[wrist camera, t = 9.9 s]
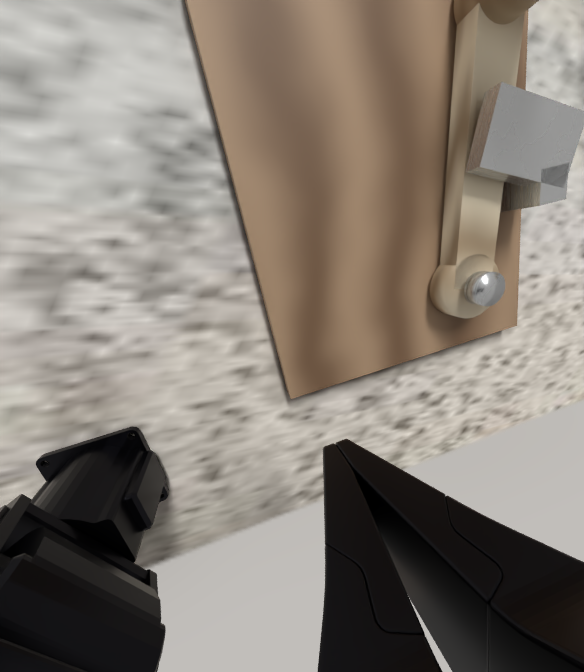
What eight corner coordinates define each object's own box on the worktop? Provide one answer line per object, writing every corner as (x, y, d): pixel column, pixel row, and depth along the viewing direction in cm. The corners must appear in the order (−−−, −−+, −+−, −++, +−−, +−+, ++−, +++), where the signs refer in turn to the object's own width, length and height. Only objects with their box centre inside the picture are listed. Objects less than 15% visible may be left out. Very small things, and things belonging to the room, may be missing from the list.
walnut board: (287, 391, 21) (290, 399, 20) (179, -18, 14) (175, -43, 13) (503, 322, 24) (516, 325, 23) (510, -48, 17) (531, -70, 16)
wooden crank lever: (477, 310, 22) (783, 374, 10) (428, 317, 21) (696, 397, 9) (516, -33, 16) (1393, -913, 4) (450, -42, 15) (1303, -1189, 3)
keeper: (440, 302, 21) (476, 310, 18) (430, 116, 17) (473, 86, 14) (524, 277, 22) (571, 280, 19) (532, 97, 18) (592, 66, 15)
